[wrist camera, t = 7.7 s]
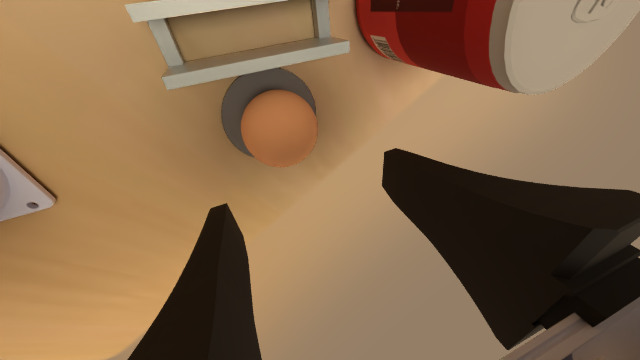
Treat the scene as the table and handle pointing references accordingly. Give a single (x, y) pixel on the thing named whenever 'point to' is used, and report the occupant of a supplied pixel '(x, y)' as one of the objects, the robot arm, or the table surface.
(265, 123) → the ball
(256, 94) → the coaster
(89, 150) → the table surface
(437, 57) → the canned food
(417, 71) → the table surface
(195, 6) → the acrylic fence
